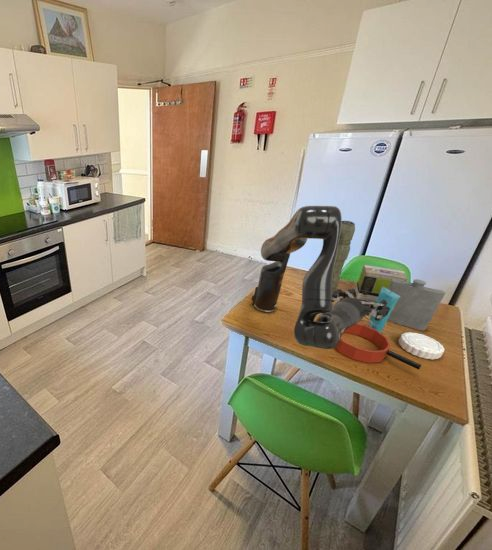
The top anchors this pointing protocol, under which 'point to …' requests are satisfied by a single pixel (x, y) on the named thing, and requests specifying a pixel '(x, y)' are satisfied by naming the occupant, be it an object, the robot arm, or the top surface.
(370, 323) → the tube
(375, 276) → the tea box
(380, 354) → the pan
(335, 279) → the thermos
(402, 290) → the hip flask
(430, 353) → the mooncake
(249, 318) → the top surface
